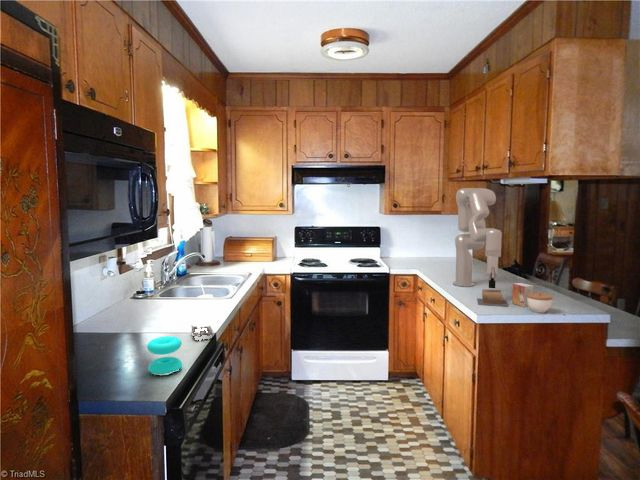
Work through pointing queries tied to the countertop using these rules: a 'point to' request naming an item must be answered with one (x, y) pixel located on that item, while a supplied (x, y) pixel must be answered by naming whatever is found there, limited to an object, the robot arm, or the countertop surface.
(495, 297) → the slab
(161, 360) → the donuts
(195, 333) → the egg carton
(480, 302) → the mat
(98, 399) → the countertop surface
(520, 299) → the small box
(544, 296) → the lidded jar
